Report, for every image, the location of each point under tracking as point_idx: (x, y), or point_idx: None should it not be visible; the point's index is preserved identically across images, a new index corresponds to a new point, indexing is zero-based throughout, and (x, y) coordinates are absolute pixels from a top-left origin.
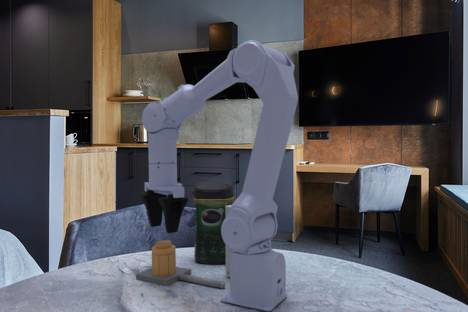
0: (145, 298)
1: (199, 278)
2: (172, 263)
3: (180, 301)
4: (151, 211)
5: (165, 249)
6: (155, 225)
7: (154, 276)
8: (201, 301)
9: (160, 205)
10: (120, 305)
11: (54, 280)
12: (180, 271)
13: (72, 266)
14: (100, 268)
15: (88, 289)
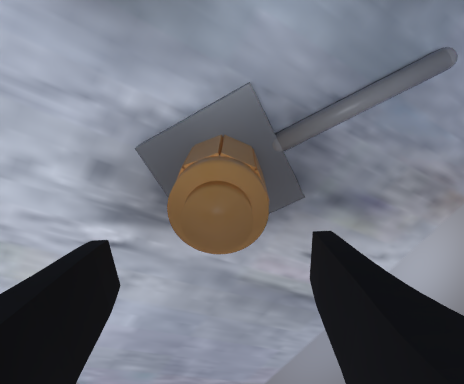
0: None
1: (362, 109)
2: (260, 171)
3: (418, 205)
4: (68, 371)
5: (263, 222)
6: (113, 272)
7: None
8: (461, 164)
9: (11, 354)
10: None
11: (117, 362)
12: (250, 128)
13: None
14: None
15: (211, 327)
